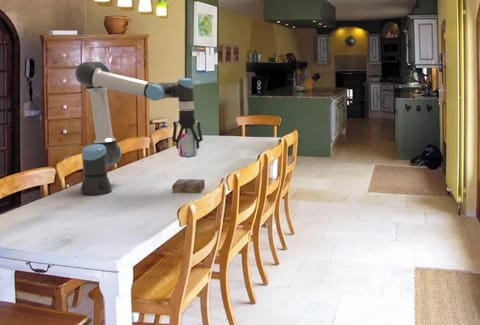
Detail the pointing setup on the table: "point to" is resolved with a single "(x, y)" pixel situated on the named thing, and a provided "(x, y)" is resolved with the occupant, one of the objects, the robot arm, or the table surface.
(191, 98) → the robot arm
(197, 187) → the walnut stand
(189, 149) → the supplement box
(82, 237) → the table surface
